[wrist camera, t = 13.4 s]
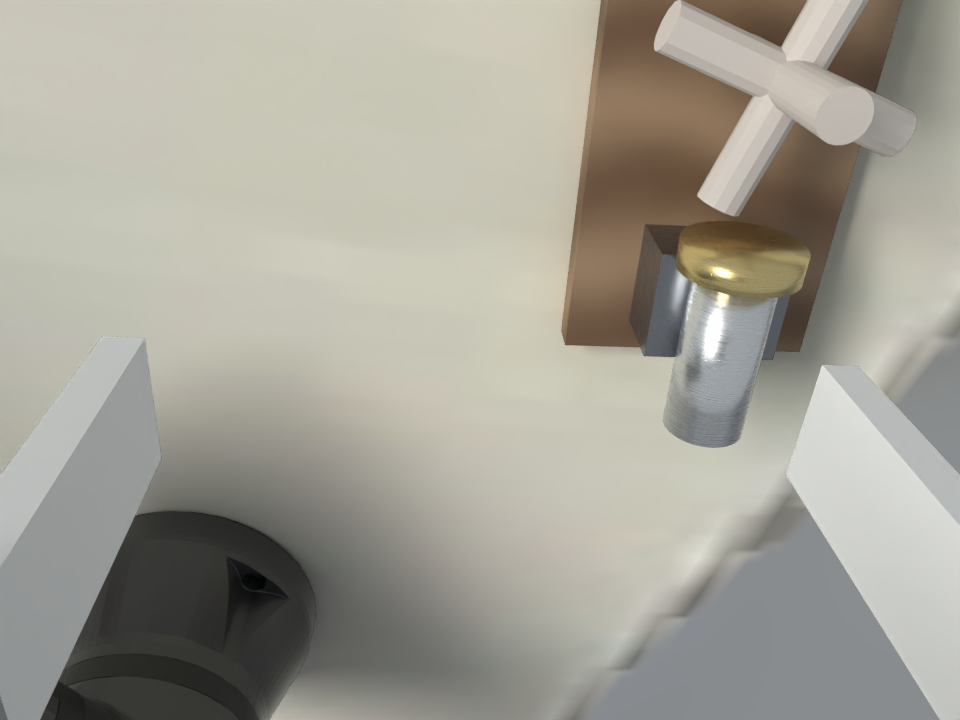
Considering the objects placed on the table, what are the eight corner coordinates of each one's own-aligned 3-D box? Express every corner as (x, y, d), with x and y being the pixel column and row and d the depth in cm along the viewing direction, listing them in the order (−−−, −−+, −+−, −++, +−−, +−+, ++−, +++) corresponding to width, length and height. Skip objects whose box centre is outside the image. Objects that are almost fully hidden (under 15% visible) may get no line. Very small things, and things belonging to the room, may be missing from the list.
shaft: (735, 375, 42) (784, 459, 36) (620, 372, 42) (650, 457, 36) (777, 208, 37) (842, 273, 31) (648, 203, 37) (688, 267, 31)
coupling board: (788, 337, 43) (799, 351, 41) (561, 330, 42) (565, 344, 41) (985, -362, 29) (1011, -374, 27) (648, -391, 28) (658, -405, 27)
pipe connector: (916, -15, 33) (1082, 23, 24) (778, 205, 37) (877, 303, 29) (702, -127, 31) (801, -129, 22) (583, 121, 35) (627, 200, 26)
